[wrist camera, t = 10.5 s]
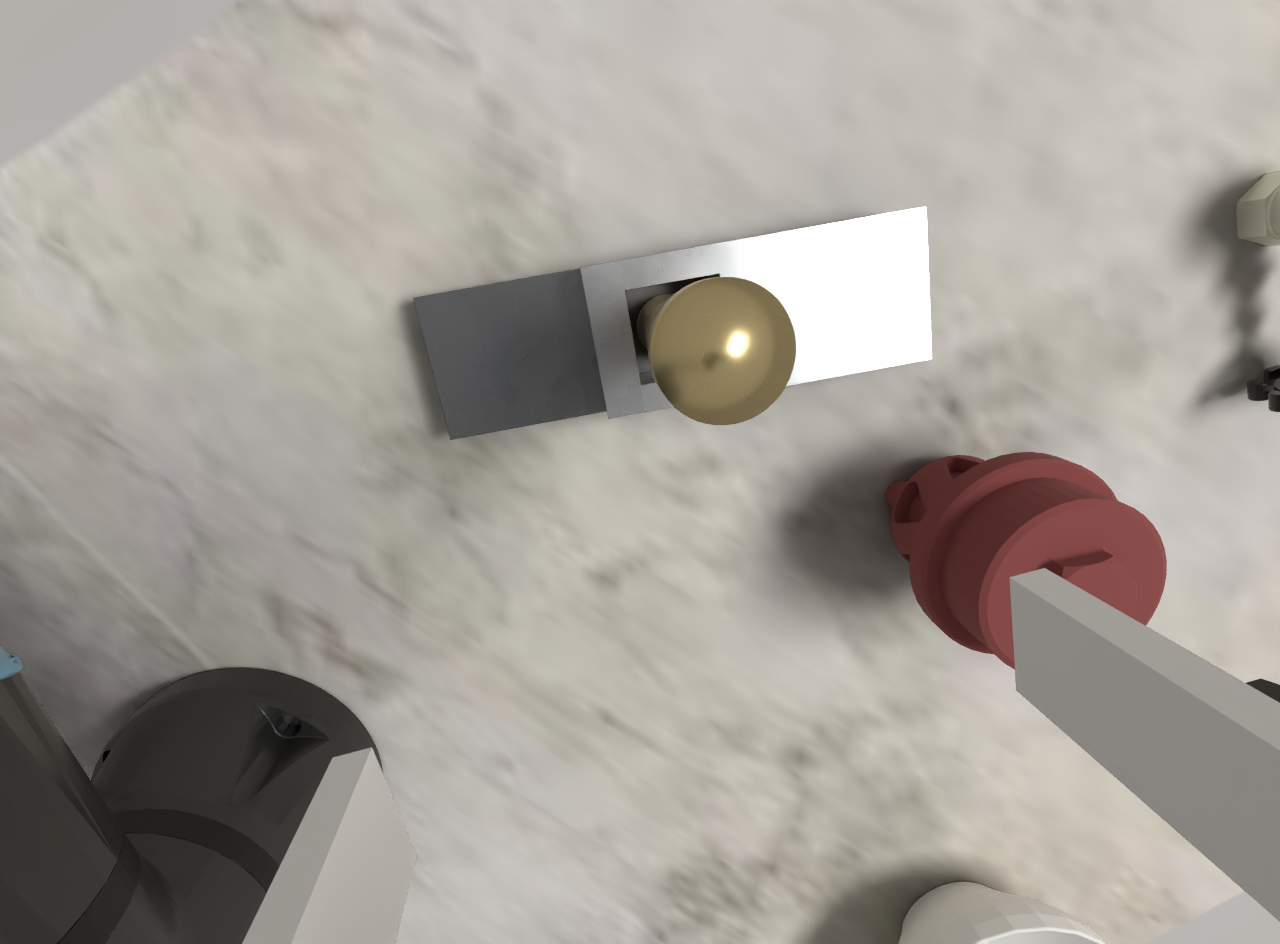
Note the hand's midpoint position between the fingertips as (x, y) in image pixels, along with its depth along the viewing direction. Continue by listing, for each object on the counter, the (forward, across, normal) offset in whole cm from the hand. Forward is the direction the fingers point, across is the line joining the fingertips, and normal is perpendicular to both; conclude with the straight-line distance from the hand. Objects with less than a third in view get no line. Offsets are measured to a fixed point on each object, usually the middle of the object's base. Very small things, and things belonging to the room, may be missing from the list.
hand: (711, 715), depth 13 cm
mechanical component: (+23, +18, -8) cm, 30 cm away
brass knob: (+23, +4, +6) cm, 24 cm away
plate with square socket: (+23, +4, +6) cm, 24 cm away
